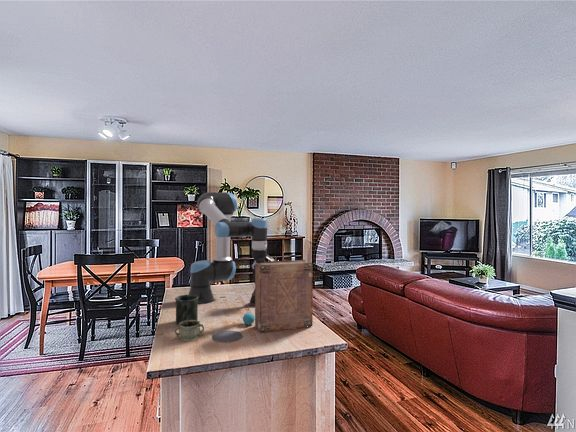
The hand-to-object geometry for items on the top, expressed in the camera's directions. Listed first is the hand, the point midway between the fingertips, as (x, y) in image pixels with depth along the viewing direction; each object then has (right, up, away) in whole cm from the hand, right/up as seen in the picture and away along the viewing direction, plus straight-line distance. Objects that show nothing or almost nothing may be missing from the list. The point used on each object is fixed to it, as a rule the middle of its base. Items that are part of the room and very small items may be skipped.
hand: (259, 296), depth 169 cm
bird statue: (0, -11, +29) cm, 31 cm away
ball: (-4, -9, -8) cm, 13 cm away
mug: (-34, -11, -7) cm, 37 cm away
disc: (-12, -11, -24) cm, 29 cm away
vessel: (-27, -12, -25) cm, 39 cm away
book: (+12, -12, -10) cm, 20 cm away
